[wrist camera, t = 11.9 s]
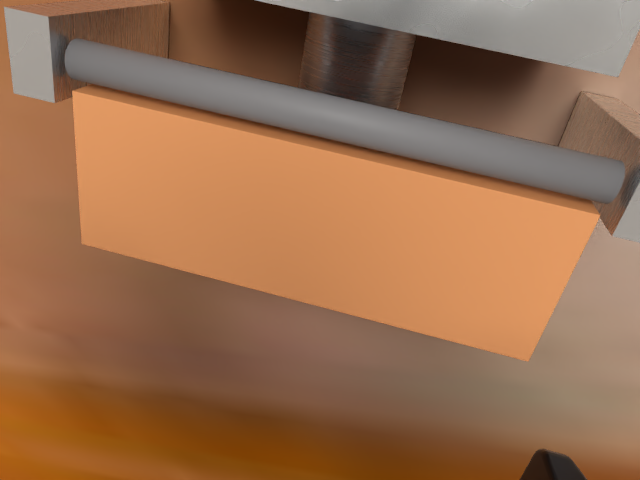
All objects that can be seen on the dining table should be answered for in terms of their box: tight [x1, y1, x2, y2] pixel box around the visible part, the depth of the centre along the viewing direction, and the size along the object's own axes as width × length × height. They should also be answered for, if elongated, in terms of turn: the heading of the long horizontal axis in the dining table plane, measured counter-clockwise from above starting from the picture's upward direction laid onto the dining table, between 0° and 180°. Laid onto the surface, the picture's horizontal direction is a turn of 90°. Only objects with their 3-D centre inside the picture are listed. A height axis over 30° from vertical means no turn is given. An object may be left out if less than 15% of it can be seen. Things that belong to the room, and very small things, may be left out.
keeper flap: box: [65, 38, 625, 361], centre depth 12 cm, size 12×5×1 cm, turn 80°
